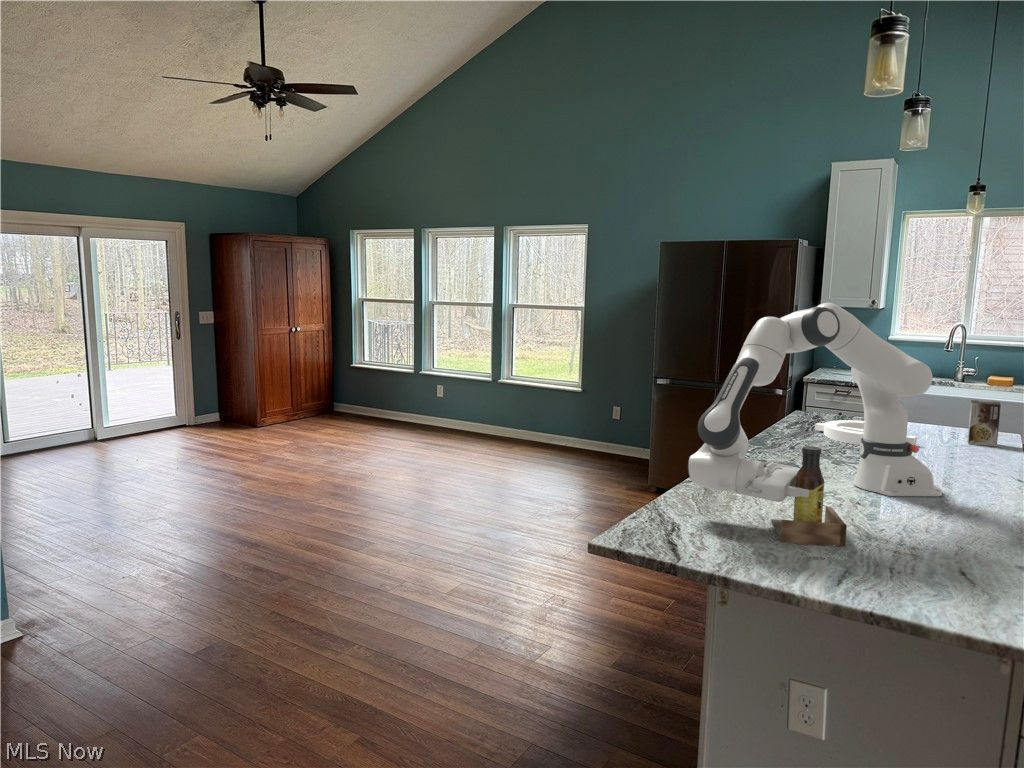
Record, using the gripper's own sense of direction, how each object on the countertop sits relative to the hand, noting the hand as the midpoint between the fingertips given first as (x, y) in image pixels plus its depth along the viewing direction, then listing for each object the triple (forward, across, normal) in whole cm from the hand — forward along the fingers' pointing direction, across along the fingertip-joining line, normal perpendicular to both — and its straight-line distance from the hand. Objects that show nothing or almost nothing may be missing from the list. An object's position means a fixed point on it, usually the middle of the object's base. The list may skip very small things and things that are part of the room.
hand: (813, 488), depth 157 cm
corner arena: (-1, 0, +11) cm, 11 cm away
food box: (+34, +138, +12) cm, 142 cm away
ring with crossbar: (-4, +122, +12) cm, 123 cm away
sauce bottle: (-1, +1, +11) cm, 11 cm away
